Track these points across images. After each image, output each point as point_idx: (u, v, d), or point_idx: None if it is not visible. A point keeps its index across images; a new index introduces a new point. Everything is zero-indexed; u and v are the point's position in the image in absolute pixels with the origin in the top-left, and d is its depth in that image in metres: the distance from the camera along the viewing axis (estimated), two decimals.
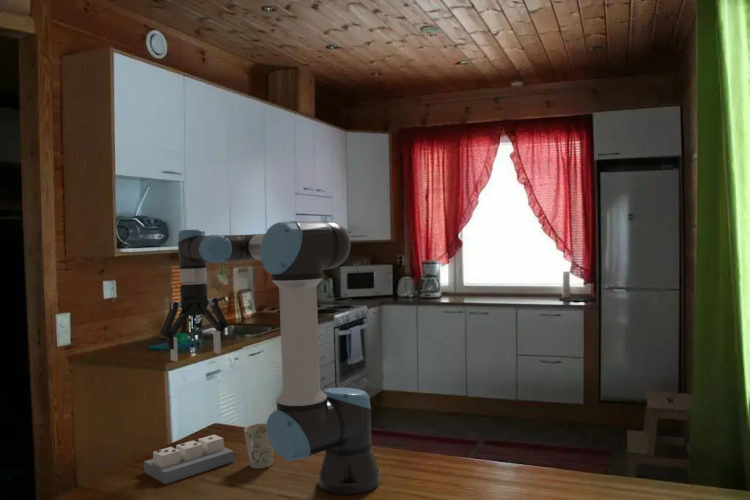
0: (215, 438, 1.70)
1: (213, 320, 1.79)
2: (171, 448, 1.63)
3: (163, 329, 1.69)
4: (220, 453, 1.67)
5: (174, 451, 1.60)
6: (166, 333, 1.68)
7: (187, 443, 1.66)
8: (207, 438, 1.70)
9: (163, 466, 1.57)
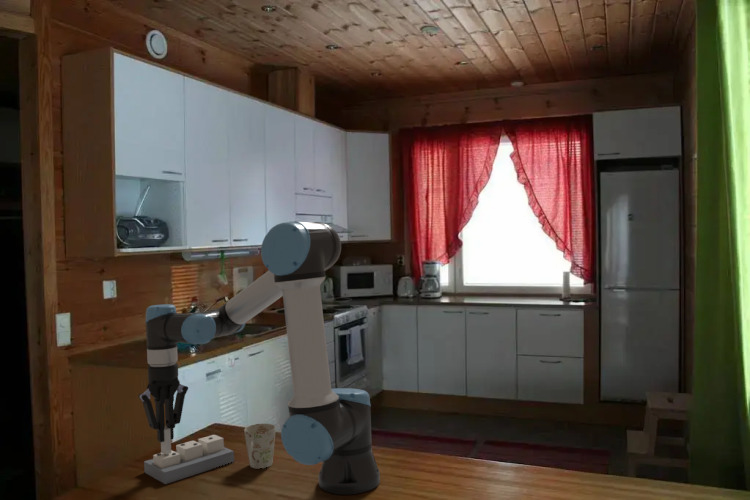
0: (215, 438, 1.70)
1: (170, 411, 1.60)
2: (171, 451, 1.63)
3: (150, 423, 1.58)
4: (220, 453, 1.67)
5: (174, 454, 1.60)
6: (155, 426, 1.58)
7: (187, 443, 1.66)
8: (207, 438, 1.70)
9: None
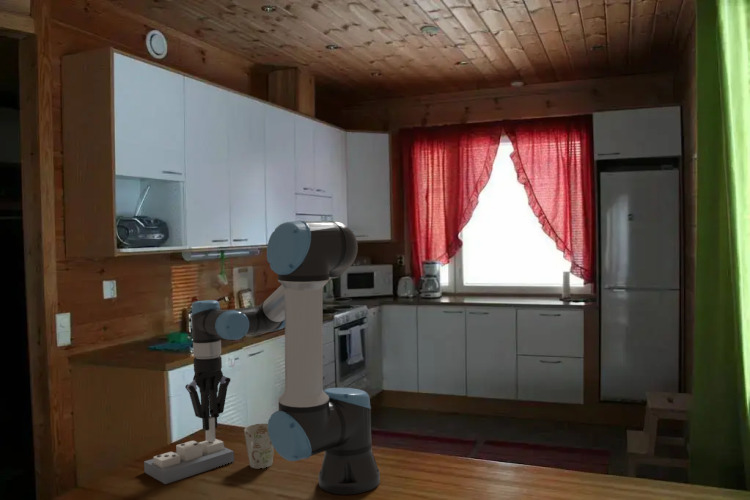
0: (215, 441, 1.70)
1: (214, 401, 1.70)
2: (171, 453, 1.63)
3: (196, 412, 1.67)
4: (220, 453, 1.67)
5: (174, 456, 1.60)
6: (201, 415, 1.67)
7: (187, 443, 1.66)
8: (207, 442, 1.70)
9: None
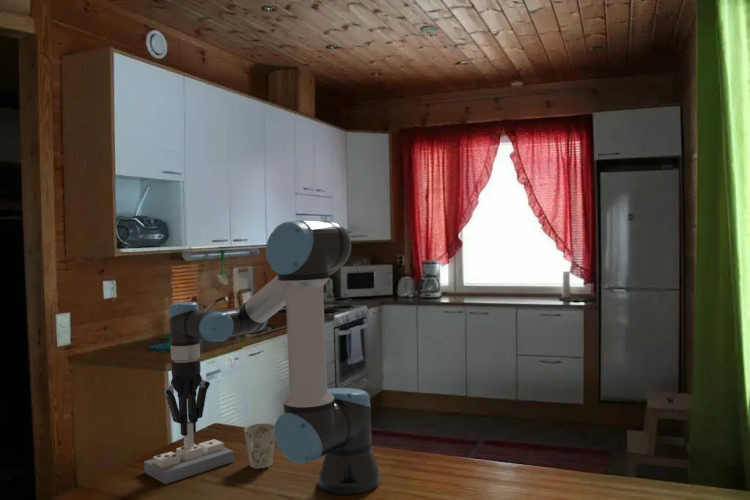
0: (215, 442, 1.70)
1: (193, 405, 1.65)
2: (171, 453, 1.63)
3: (173, 417, 1.62)
4: (220, 453, 1.67)
5: (174, 456, 1.60)
6: (179, 420, 1.62)
7: None
8: (207, 443, 1.70)
9: None
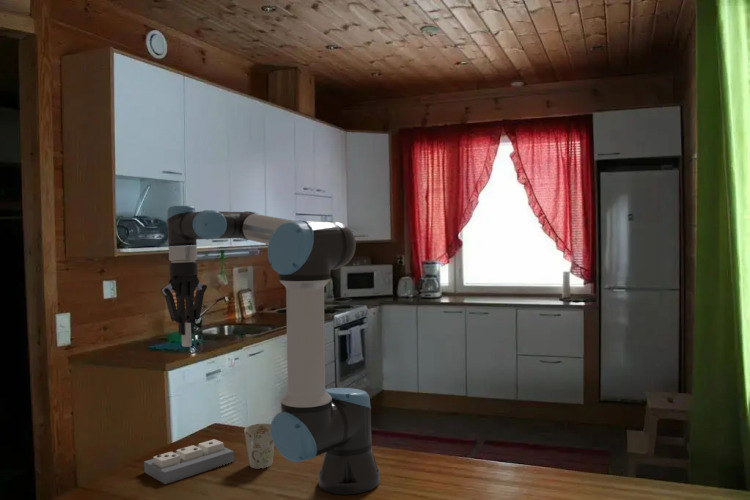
0: (215, 442, 1.70)
1: (190, 306, 1.70)
2: (171, 453, 1.63)
3: (172, 316, 1.67)
4: (220, 453, 1.67)
5: (174, 456, 1.60)
6: (177, 318, 1.67)
7: (187, 448, 1.66)
8: (207, 443, 1.70)
9: None
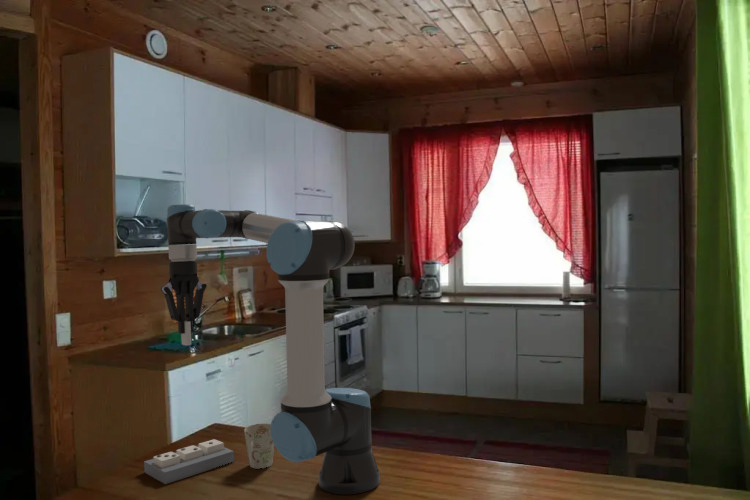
0: (215, 442, 1.70)
1: (190, 305, 1.70)
2: (171, 453, 1.63)
3: (171, 314, 1.68)
4: (220, 453, 1.67)
5: (174, 456, 1.60)
6: (177, 317, 1.67)
7: (187, 448, 1.66)
8: (207, 443, 1.70)
9: None
